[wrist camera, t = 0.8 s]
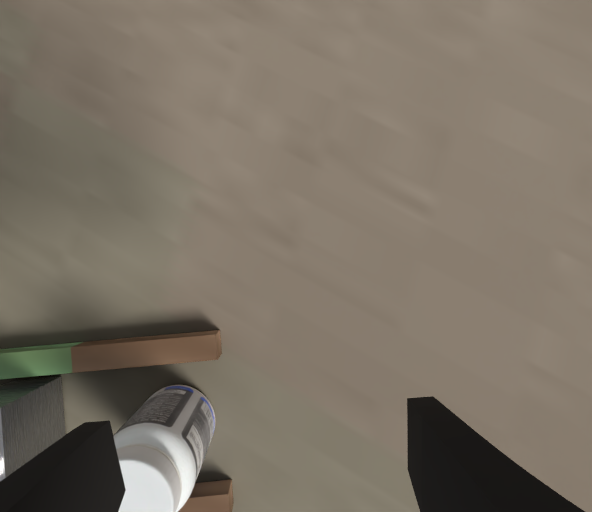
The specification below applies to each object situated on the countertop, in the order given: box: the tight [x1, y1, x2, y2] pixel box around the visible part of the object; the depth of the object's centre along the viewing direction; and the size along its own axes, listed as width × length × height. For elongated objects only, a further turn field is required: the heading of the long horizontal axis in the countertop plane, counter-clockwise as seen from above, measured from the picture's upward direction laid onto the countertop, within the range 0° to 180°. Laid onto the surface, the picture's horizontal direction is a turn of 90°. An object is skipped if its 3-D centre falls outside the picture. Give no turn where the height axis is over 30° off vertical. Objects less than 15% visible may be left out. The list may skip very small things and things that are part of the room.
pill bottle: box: [113, 385, 215, 512], centre depth 19 cm, size 5×5×8 cm
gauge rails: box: [0, 330, 233, 512], centre depth 23 cm, size 11×16×2 cm
